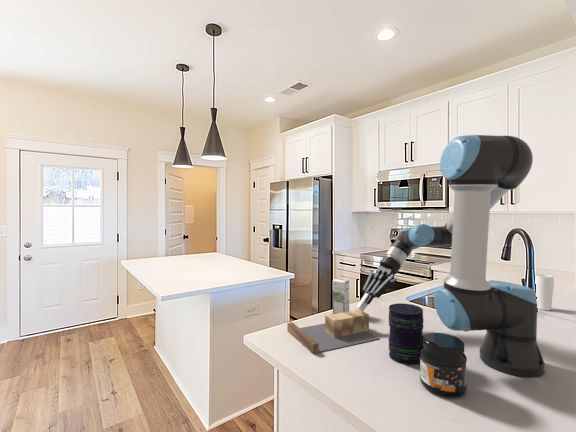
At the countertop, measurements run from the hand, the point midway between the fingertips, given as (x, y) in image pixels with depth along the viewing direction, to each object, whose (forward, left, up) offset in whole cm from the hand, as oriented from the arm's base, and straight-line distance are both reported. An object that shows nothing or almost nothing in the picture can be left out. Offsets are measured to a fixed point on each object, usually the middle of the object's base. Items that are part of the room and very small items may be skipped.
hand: (359, 309), depth 114 cm
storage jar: (-21, -11, -8) cm, 25 cm away
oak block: (+1, -2, -4) cm, 5 cm away
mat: (-6, +10, -8) cm, 13 cm away
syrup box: (+18, +6, -8) cm, 21 cm away
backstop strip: (-12, +21, -8) cm, 25 cm away
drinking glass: (+31, -84, -8) cm, 90 cm away
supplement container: (-36, -16, -8) cm, 40 cm away
